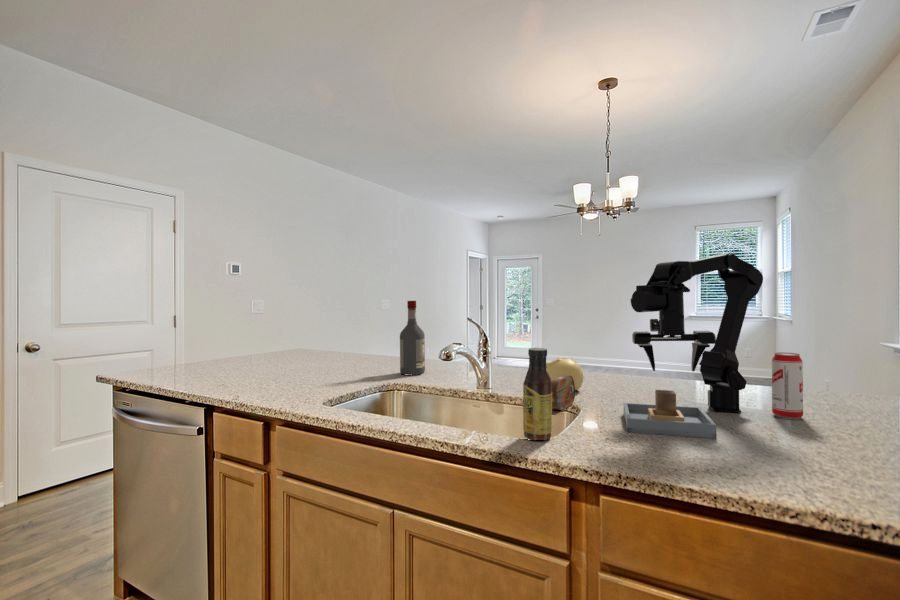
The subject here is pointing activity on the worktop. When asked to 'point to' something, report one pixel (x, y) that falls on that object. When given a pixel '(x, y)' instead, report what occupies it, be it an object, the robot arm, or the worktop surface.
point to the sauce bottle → (537, 397)
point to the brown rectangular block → (665, 402)
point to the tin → (562, 392)
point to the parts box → (669, 421)
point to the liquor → (412, 345)
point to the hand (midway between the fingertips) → (673, 370)
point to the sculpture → (565, 370)
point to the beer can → (787, 385)
